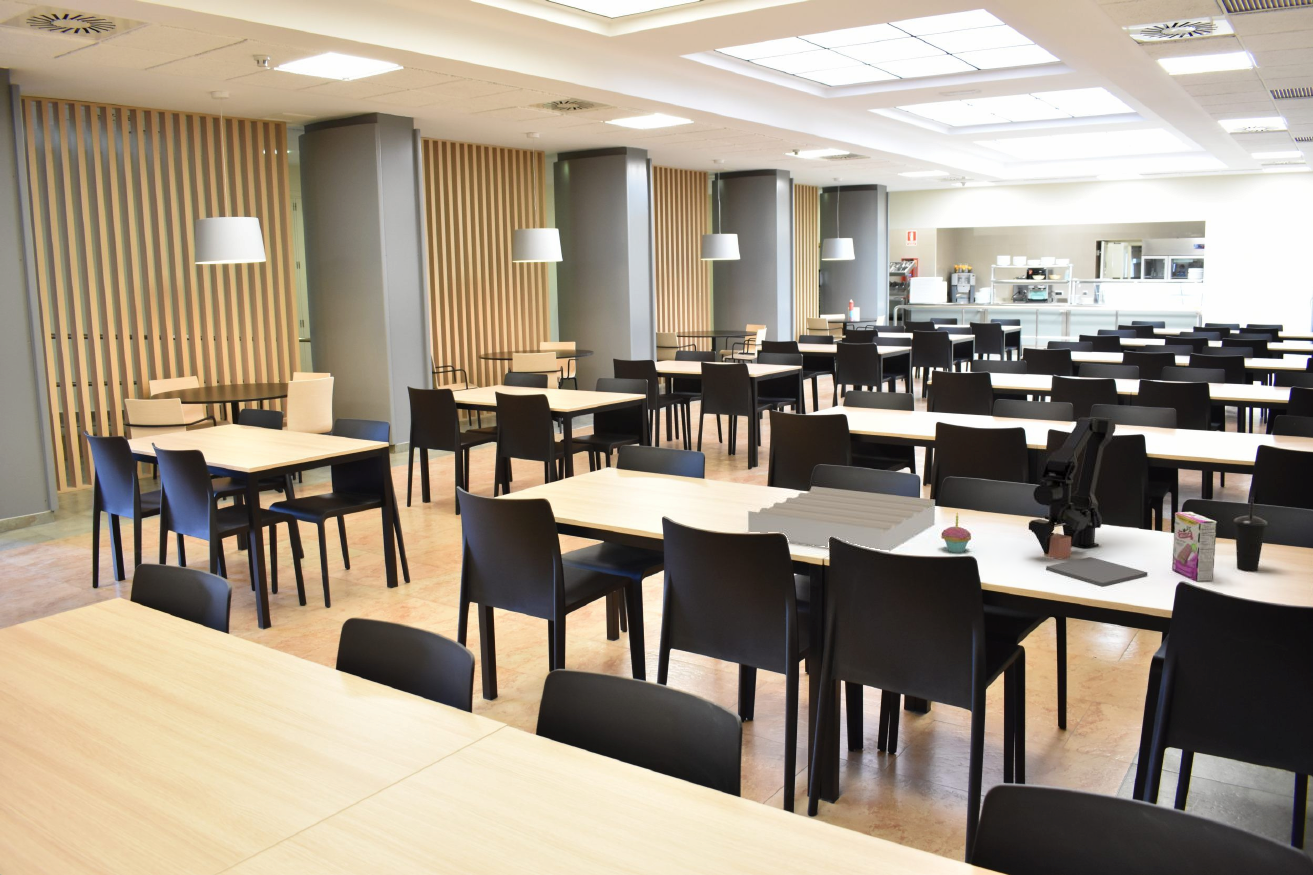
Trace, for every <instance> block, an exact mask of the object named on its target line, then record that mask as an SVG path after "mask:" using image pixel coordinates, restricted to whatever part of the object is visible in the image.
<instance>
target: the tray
mask: <svg viewBox="0 0 1313 875" xmlns="http://www.w3.org/2000/svg"><path fill="white" fill-rule="evenodd" d="M935 506H936V499H932V498H931V499H930V498H922V497H913V496H904V495H903V496H902V495H897V494H896V495H895V494H885V493H878V492H877V493H876V492H867V491H857V490H849V489H840V488H832V487H831V488H830V487H823V486H822V487H819V486H812V485H811V487H810V489H809V491H808V492H800V493H798V495H797V496H796V497H787V498H786V500H785V501H783V502H777V501H776V502H774V503H773V505H772V506H770V507H762V508H760V509H759V511H758V512H757V511H750V510H748V511H747V512H748V513H747V521H748V523H747V524H748V529H747V530H748V532H760V533H768V532H779V533H784V534H785V535H786V536H787V538H788V540H789V542H790V543H789V544H794V543H798V544H797V545H801V544H806V545H805V546H808V545H814V546H825V547H828V542H829V537H830V536H835V537H838V538H840V539H842V540H844V541H848V542H849V543H852V544H857V545H860V546H865V547H869V548H875V549H880V550H889V552H891V551H892V550H894V549H896V548H897V547H899V546H901V545H902V544H904V543H906V542H908V541H909V540H911V539H914V538H915V537H916V536H918V535H919V534H921V533H923V532H925V531H926V530H928V529H929V528H932V527H933V526H935V520H936V519H935V518H936V517H935V515H936V514H935V510H936V507H935ZM748 532H747V533H748ZM814 546H813V547H814Z"/></svg>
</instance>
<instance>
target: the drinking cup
mask: <svg viewBox="0 0 1313 875" xmlns="http://www.w3.org/2000/svg"><path fill="white" fill-rule="evenodd" d="M1254 500H1255V499H1254V497H1250V502H1249V515H1242V516H1239V517H1235V518H1234V520H1233V521H1234V523H1235V526H1234V527H1235V544H1236V546H1235V550H1236V568H1237V569H1238V570H1239V571H1243V572H1258V570H1259V562H1260V558H1261V552H1262V547H1263V541H1264V535H1265V530H1266V526H1267V525H1268V522H1267V520H1265V519H1263V518H1261V517H1258V516H1255V515H1253V514H1254V513H1253V512H1254Z"/></svg>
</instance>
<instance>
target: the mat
mask: <svg viewBox="0 0 1313 875" xmlns="http://www.w3.org/2000/svg"><path fill="white" fill-rule="evenodd" d="M1045 570H1046V571H1048V570H1049V571H1048V572H1052V573H1055V574H1058V573H1059V575H1062V576H1066V577H1070V578H1072V579H1076V580H1079V581H1083V582H1085V583H1089V584H1092V585H1096V586H1099V587H1106V586H1107V587H1108V586H1111V585H1114V584H1120V583H1123V582H1128V581H1131V580H1135V579H1140V578H1144V577H1148V572H1147V571H1145V570H1141V569H1137V568H1134V567H1129V566H1126V565H1122V564H1119V563H1114V562H1111V561H1106V560H1104V559H1103V560H1102V559H1099V558H1096V557H1092V556H1089V557H1088V556H1087V557H1083V558H1079V559H1075V560H1069V561H1065V562H1060V563H1057V564H1050V565H1046V567H1045Z"/></svg>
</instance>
